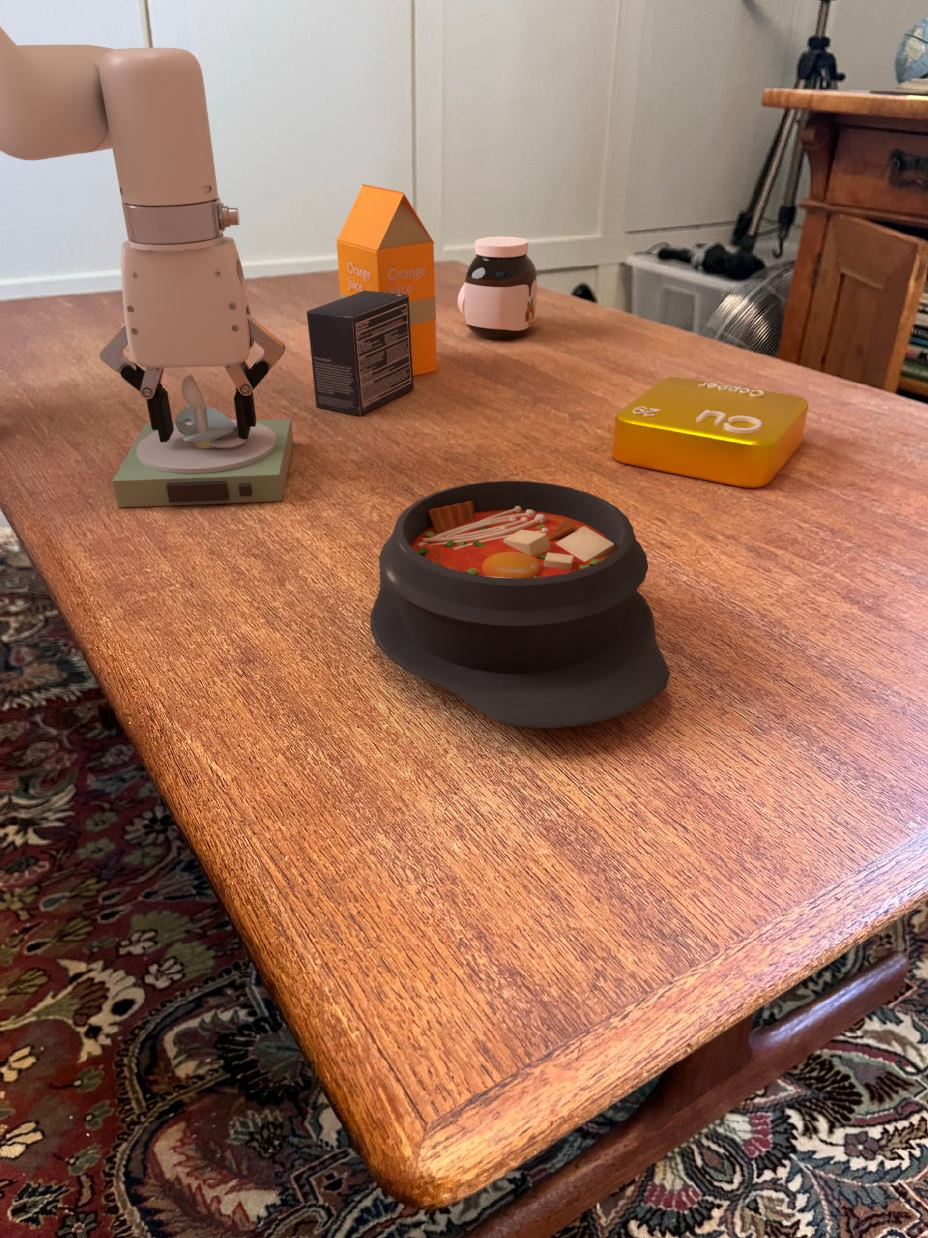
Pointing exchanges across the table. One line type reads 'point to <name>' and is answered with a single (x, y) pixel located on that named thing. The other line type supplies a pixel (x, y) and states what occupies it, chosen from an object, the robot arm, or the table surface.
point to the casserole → (521, 603)
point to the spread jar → (499, 289)
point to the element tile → (710, 431)
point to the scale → (206, 468)
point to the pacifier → (204, 421)
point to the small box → (361, 351)
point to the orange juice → (392, 263)
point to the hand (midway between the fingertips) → (206, 433)
